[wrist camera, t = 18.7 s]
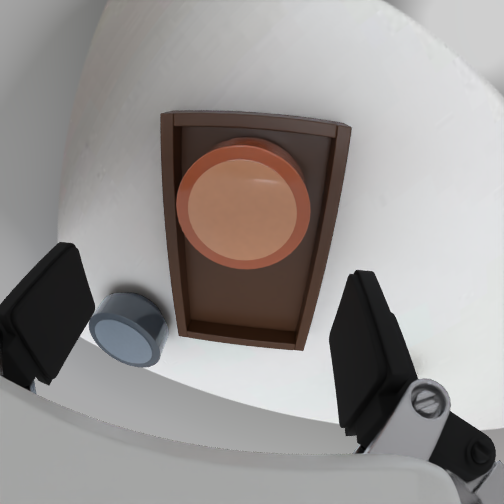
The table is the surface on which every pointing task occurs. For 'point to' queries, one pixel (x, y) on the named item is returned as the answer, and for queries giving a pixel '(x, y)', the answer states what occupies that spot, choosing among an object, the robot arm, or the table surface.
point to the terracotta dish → (244, 204)
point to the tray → (262, 279)
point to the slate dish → (129, 329)
